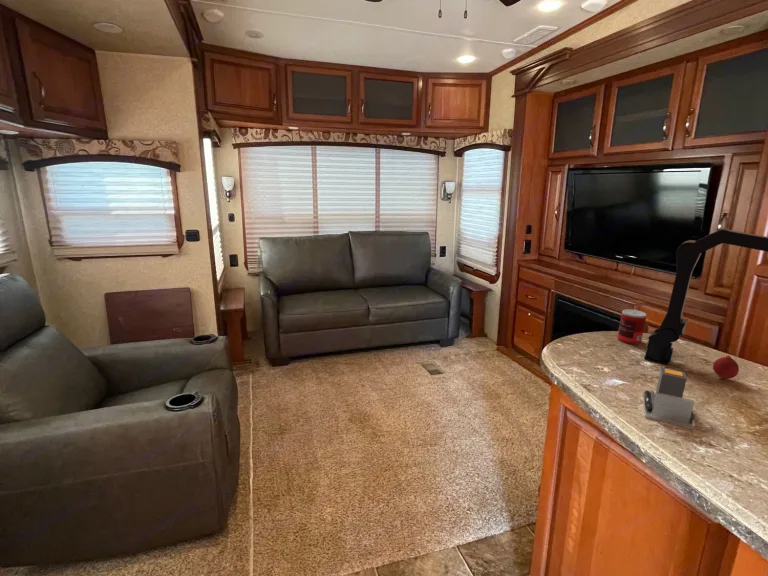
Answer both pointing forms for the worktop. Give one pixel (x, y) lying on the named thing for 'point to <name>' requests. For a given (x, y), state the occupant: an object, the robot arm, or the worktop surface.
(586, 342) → the worktop surface
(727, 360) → the onion
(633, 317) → the canned food
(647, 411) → the grey handled base plate
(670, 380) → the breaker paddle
